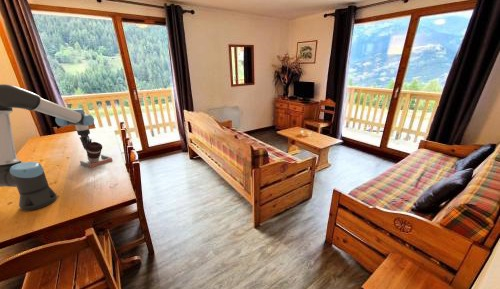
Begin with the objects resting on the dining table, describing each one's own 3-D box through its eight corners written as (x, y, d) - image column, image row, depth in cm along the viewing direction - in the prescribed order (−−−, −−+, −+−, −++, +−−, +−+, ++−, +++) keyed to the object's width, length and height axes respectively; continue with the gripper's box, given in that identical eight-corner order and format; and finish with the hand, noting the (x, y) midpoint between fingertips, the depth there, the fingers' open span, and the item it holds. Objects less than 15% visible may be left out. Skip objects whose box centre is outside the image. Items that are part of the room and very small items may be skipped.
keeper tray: (90, 167, 153) (89, 164, 152) (80, 164, 159) (79, 161, 159) (112, 160, 165) (111, 157, 165) (102, 157, 172) (101, 154, 171)
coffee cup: (92, 165, 160) (93, 150, 152) (82, 158, 160) (82, 144, 153) (104, 159, 168) (105, 145, 161) (94, 153, 169) (95, 138, 161)
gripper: (92, 129, 158) (100, 157, 166) (84, 127, 164) (91, 154, 172) (81, 131, 152) (89, 161, 160) (72, 129, 158) (81, 157, 166)
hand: (90, 157), depth 166 cm, fingers closed
